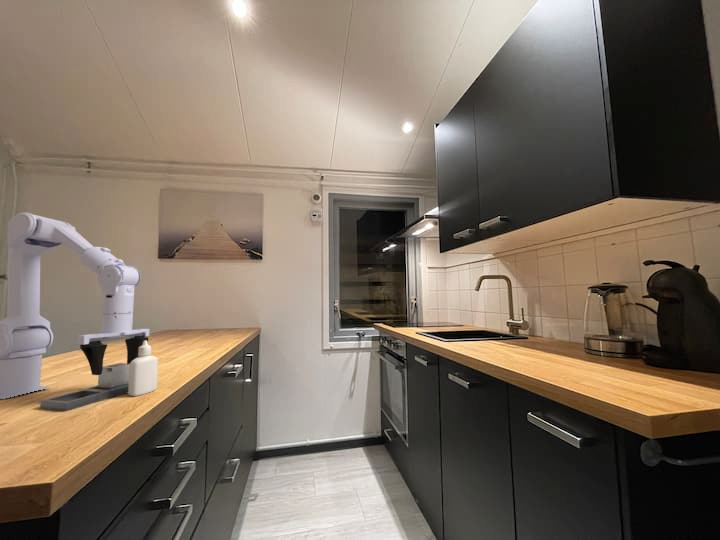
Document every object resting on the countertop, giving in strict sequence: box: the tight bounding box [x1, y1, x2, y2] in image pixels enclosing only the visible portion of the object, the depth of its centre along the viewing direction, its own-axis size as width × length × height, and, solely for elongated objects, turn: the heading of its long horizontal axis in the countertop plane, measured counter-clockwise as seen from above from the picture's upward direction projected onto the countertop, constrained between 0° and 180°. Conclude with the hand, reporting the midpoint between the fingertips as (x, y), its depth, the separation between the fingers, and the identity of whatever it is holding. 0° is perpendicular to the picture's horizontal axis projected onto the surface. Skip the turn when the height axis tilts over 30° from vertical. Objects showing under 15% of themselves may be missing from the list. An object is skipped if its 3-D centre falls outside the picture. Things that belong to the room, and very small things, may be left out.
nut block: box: [97, 362, 130, 390], centre depth 69 cm, size 4×4×6 cm
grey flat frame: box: [39, 384, 129, 412], centre depth 65 cm, size 8×15×2 cm, turn 163°
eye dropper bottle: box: [127, 341, 159, 397], centre depth 68 cm, size 4×6×12 cm
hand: (115, 370), depth 69 cm, fingers open, 7 cm apart
